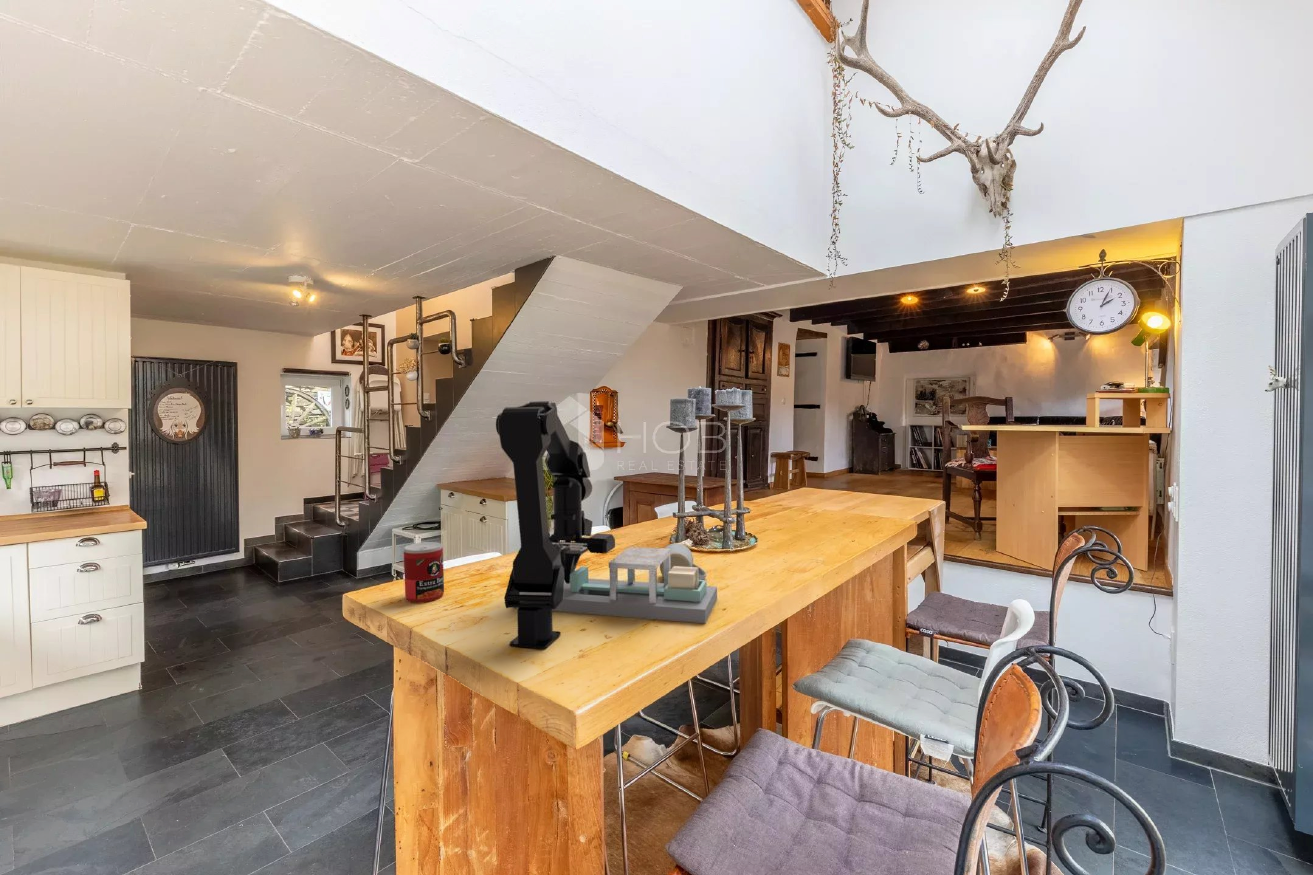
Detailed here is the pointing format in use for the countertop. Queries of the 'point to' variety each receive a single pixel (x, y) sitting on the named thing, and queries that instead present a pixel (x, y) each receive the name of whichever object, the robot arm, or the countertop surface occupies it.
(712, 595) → the slate deck
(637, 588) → the long teal base
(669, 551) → the grey stone table
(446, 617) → the countertop surface
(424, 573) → the canned food
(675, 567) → the beech block
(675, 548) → the ceramic mug
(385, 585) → the countertop surface
